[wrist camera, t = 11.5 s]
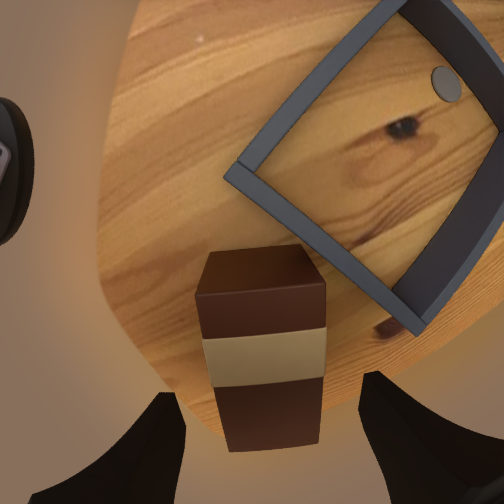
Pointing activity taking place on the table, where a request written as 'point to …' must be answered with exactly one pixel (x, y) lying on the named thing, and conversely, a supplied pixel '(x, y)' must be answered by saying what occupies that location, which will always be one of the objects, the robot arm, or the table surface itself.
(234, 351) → the brown tan banded block
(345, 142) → the table surface
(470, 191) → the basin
